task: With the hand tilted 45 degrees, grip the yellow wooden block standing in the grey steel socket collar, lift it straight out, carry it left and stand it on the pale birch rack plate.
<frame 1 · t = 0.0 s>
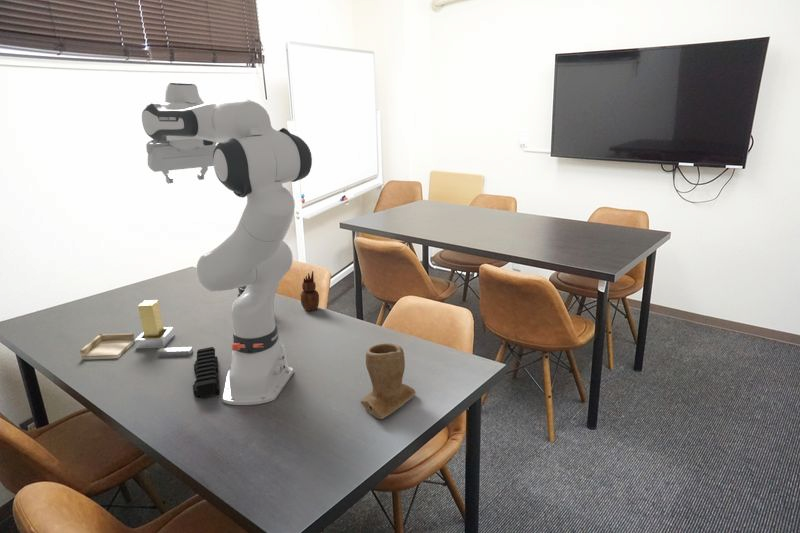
hand: (185, 180, 150), 52 cm above the table, tool tilted 20°, fingers open, 8 cm apart
wooden figurine: (310, 309, 184), on the table
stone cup: (385, 402, 126), on the table
gray rectangular bar: (175, 355, 153), on the table
yellow wooden block: (152, 322, 159), in the socket collar
rail mount: (207, 381, 138), on the table
supplement container: (255, 315, 180), on the table
rack plate: (109, 350, 156), on the table
socket collar: (156, 341, 161), on the table
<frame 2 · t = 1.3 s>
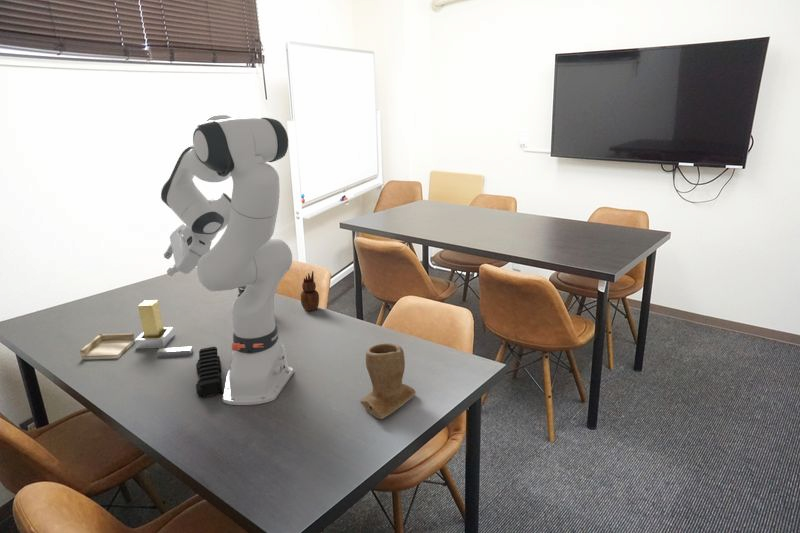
hand: (167, 265, 154), 26 cm above the table, tool tilted 50°, fingers open, 8 cm apart
nothing on the table moved.
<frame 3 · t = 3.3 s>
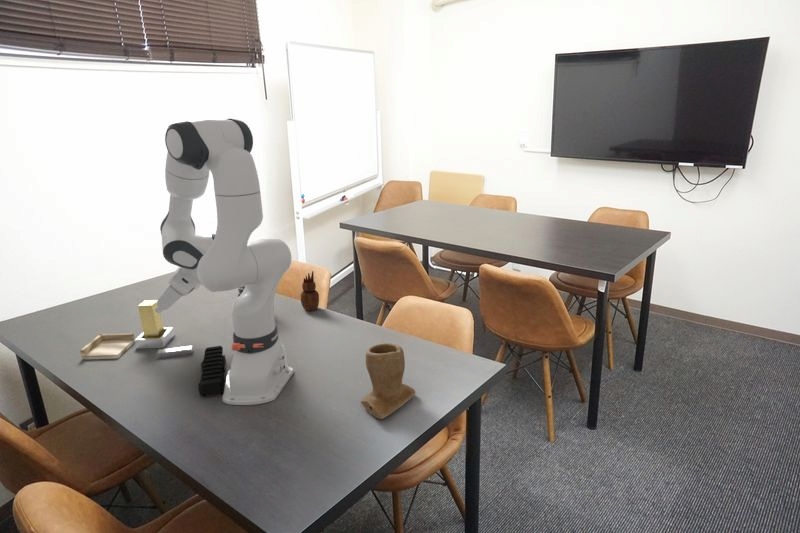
hand: (164, 305, 157), 13 cm above the table, tool tilted 45°, fingers open, 8 cm apart
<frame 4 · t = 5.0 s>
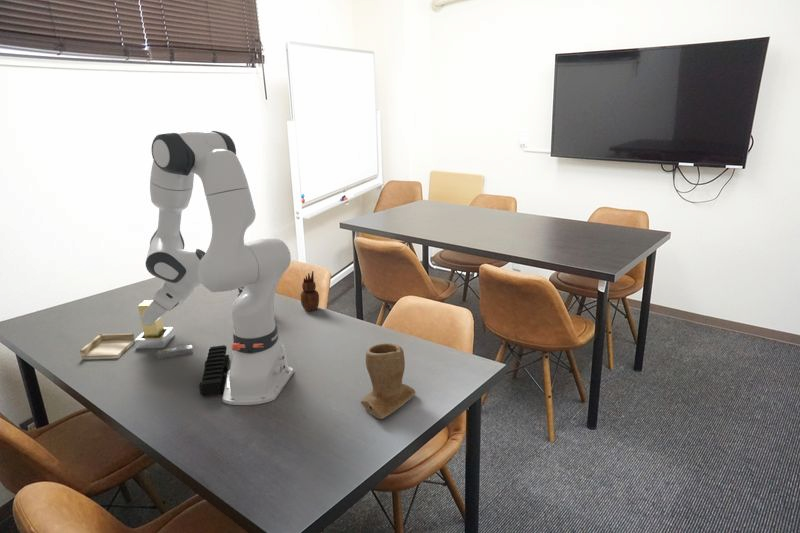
hand: (149, 320, 159), 8 cm above the table, tool tilted 45°, fingers closed on yellow wooden block, 4 cm apart
yellow wooden block: (152, 322, 159), in the socket collar, touching gripper
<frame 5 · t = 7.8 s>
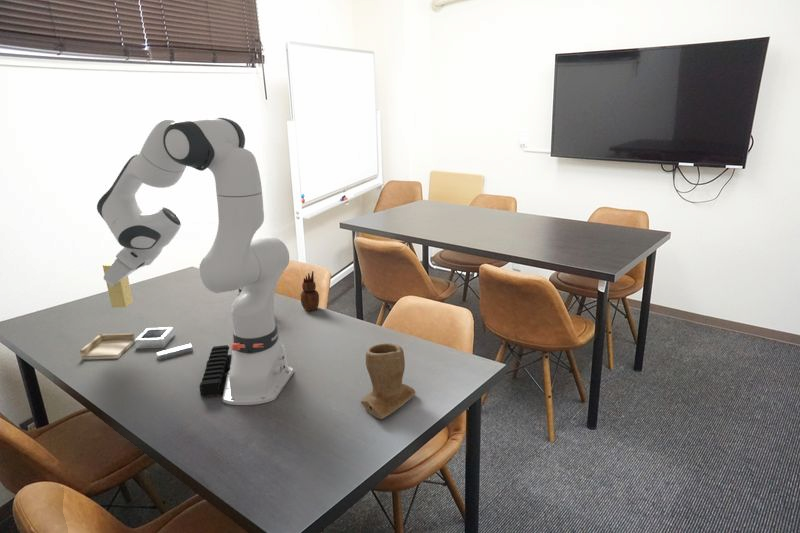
hand: (115, 281, 152), 22 cm above the table, tool tilted 45°, fingers closed on yellow wooden block, 4 cm apart
yellow wooden block: (118, 284, 152), point 21 cm above the table, touching gripper
when the fingers open (10 cm above the table, at t = 10.7 s): yellow wooden block drops 1 cm, resting on rack plate.
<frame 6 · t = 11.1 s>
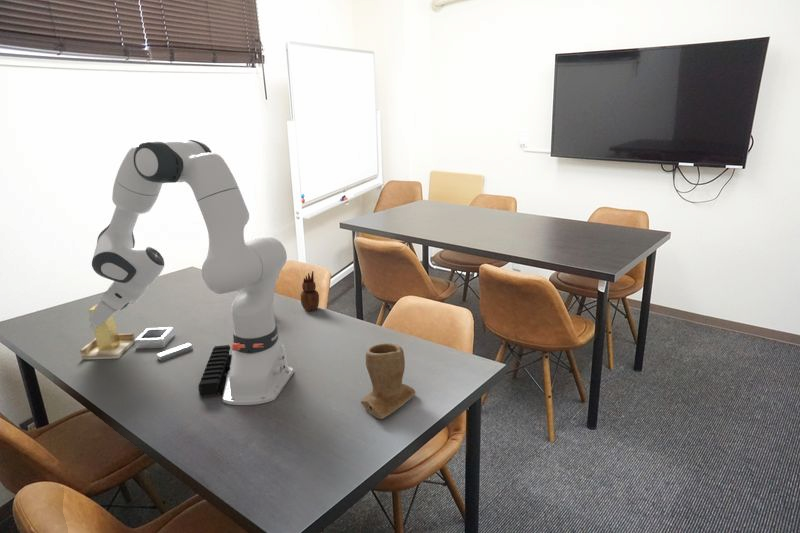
hand: (100, 321, 153), 10 cm above the table, tool tilted 45°, fingers open, 8 cm apart
yellow wooden block: (104, 327, 153), point 8 cm above the table, touching rack plate
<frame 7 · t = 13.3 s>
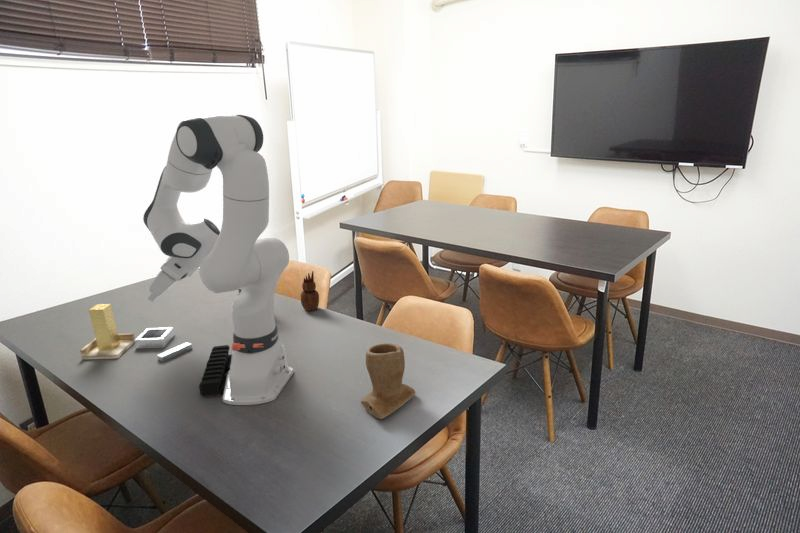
hand: (157, 294, 154), 17 cm above the table, tool tilted 45°, fingers open, 8 cm apart
rail mount: (216, 379, 139), on the table, touching arm
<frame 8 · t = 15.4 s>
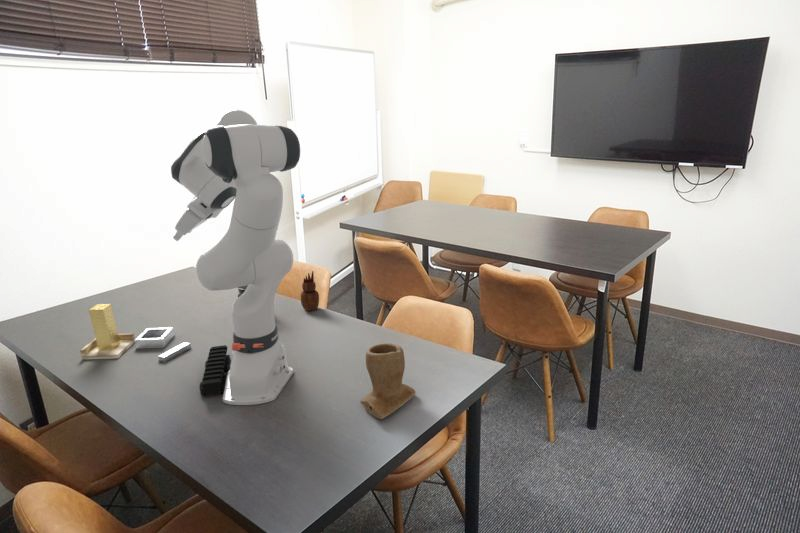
hand: (181, 235, 157), 34 cm above the table, tool tilted 45°, fingers open, 8 cm apart
rail mount: (216, 379, 139), on the table
at the end: yellow wooden block inside the target area on the rack plate (0.1 cm from its centre), point 8.2 cm above the rack plate's base; yellow wooden block tilted 0°; the gripper is holding nothing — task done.
